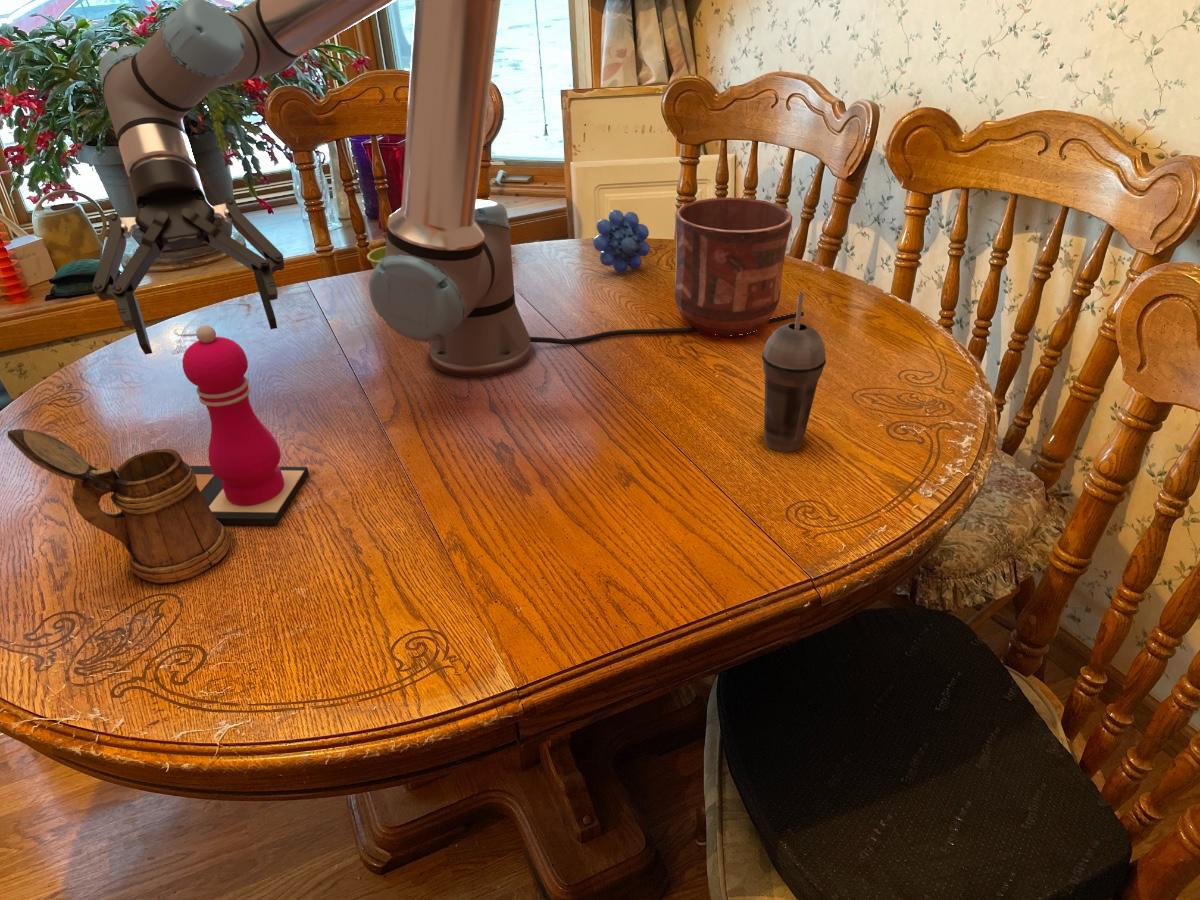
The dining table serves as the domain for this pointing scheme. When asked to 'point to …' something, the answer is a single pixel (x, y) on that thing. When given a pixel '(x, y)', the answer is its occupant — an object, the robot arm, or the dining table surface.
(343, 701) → the dining table surface
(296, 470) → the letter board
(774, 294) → the pottery
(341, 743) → the dining table surface
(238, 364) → the pepper mill
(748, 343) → the dining table surface
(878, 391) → the dining table surface
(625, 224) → the blue ball flower
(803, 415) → the beverage cup
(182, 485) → the wooden mug
